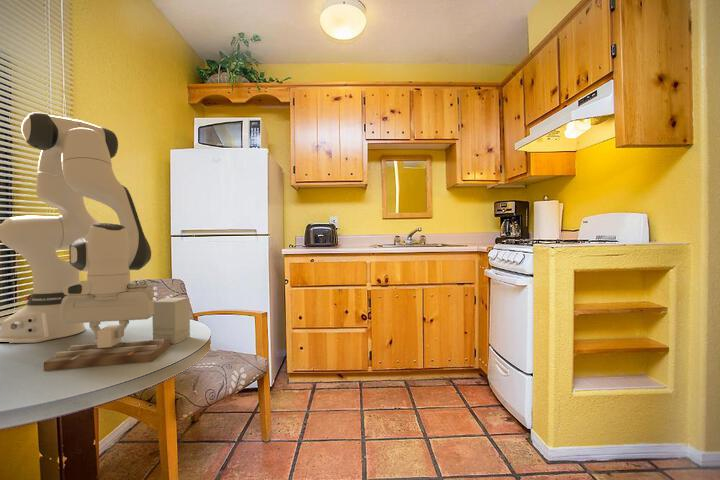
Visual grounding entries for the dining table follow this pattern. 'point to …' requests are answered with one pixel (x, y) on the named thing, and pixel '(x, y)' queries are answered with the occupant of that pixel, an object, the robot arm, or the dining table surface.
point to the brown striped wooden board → (107, 354)
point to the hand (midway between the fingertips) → (109, 337)
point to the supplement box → (171, 319)
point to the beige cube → (108, 337)
